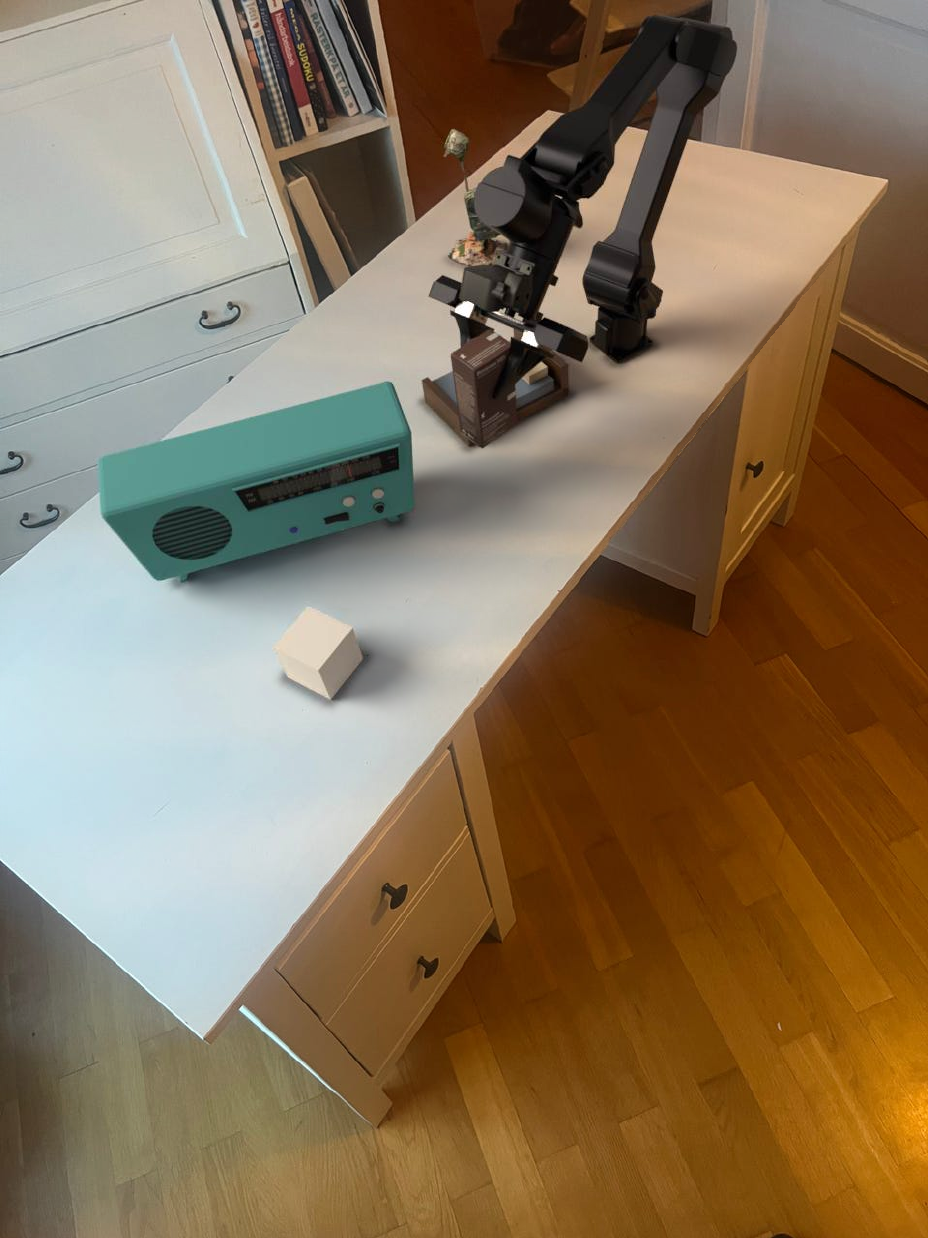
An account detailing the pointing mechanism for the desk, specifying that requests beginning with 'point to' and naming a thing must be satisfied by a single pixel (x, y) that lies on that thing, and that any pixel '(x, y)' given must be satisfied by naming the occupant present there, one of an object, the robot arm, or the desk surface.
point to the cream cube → (318, 652)
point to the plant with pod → (472, 217)
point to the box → (483, 388)
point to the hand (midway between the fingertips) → (478, 391)
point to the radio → (260, 482)
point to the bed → (452, 411)
